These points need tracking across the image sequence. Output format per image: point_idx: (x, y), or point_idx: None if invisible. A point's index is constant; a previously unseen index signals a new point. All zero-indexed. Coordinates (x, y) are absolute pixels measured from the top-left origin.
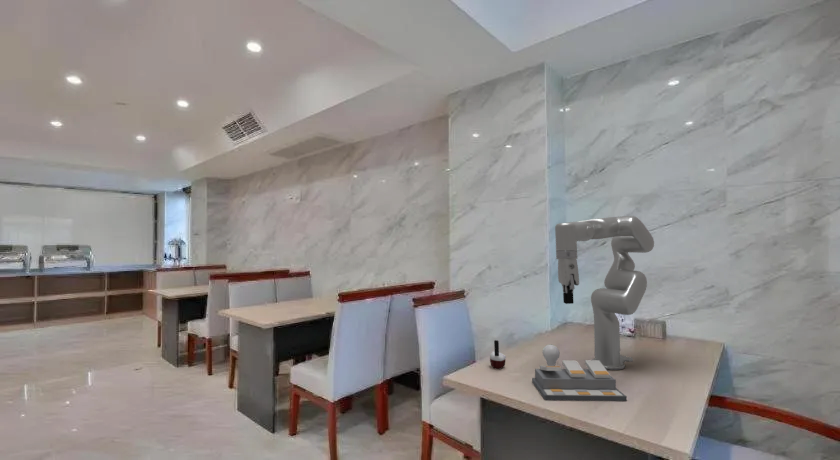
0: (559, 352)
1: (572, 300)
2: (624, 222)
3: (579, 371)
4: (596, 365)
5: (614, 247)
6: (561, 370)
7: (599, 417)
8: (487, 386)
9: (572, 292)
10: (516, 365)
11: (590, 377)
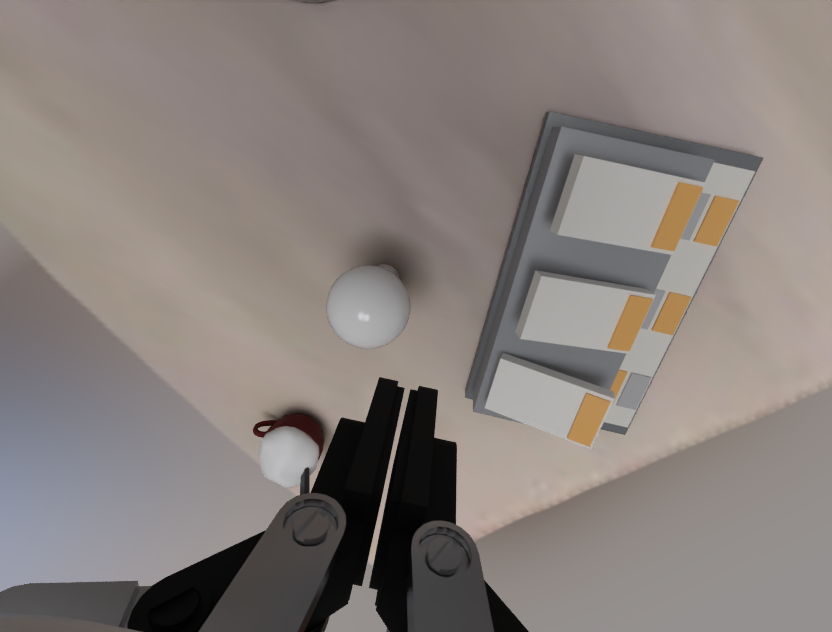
0: (391, 278)
1: (434, 423)
2: None
3: (632, 315)
4: (617, 201)
5: None
6: (613, 392)
7: (804, 344)
8: (469, 516)
9: (473, 556)
10: (284, 360)
11: (641, 259)
